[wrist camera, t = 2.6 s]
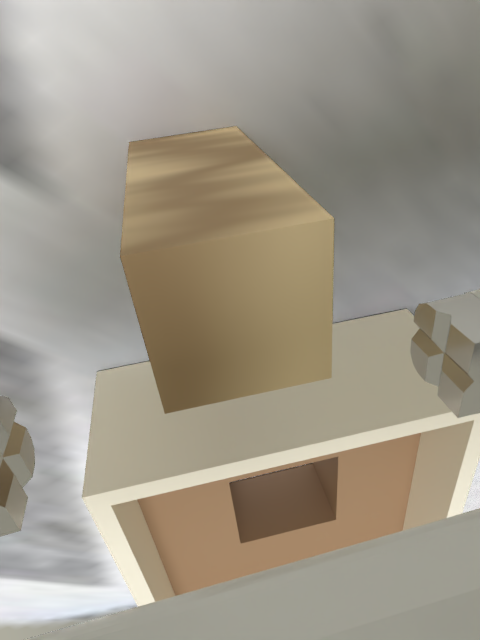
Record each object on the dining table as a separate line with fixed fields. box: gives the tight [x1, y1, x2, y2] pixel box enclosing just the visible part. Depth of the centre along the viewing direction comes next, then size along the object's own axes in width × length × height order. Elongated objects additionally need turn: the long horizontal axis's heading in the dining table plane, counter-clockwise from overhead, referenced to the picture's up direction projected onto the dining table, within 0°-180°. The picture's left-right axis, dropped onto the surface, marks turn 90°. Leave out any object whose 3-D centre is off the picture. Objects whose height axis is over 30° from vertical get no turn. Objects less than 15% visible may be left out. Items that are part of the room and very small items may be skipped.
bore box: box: [82, 309, 480, 607], centre depth 24 cm, size 16×16×7 cm
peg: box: [120, 126, 334, 414], centre depth 13 cm, size 4×4×10 cm
